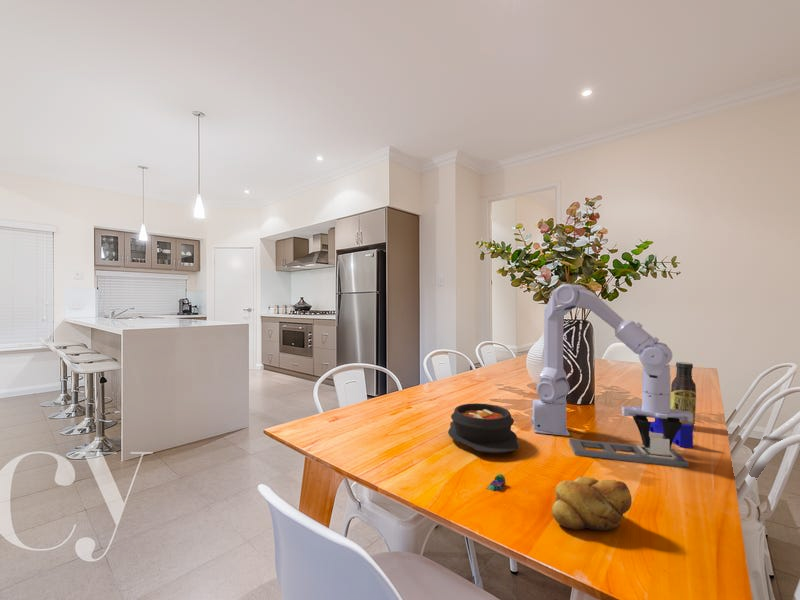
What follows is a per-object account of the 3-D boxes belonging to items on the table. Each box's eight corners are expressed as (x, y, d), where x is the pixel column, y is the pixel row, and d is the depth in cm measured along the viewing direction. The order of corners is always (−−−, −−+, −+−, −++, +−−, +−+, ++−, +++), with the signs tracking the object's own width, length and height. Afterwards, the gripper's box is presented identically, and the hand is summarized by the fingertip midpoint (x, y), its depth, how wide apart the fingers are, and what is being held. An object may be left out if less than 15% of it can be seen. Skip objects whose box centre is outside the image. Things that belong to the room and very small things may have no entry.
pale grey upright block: (650, 458, 86) (650, 437, 86) (644, 451, 90) (644, 431, 90) (669, 460, 85) (669, 439, 85) (662, 453, 89) (662, 433, 89)
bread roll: (566, 541, 57) (566, 491, 57) (535, 507, 67) (536, 464, 67) (639, 534, 59) (639, 486, 59) (598, 502, 68) (598, 460, 69)
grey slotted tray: (574, 455, 89) (574, 449, 89) (569, 443, 97) (569, 437, 97) (688, 467, 83) (688, 461, 83) (672, 453, 90) (672, 447, 90)
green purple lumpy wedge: (492, 482, 77) (492, 471, 77) (505, 486, 75) (505, 475, 75) (484, 490, 73) (484, 479, 73) (497, 495, 71) (497, 483, 71)
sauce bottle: (673, 428, 108) (673, 363, 109) (666, 422, 114) (666, 360, 114) (699, 431, 106) (699, 365, 106) (691, 425, 112) (691, 361, 112)
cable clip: (649, 431, 107) (649, 411, 107) (665, 432, 106) (665, 412, 106) (674, 447, 95) (674, 425, 95) (692, 448, 94) (692, 425, 94)
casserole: (537, 457, 88) (538, 423, 88) (466, 463, 85) (466, 428, 85) (493, 423, 113) (493, 397, 113) (436, 427, 109) (436, 399, 109)
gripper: (628, 394, 86) (628, 450, 86) (699, 398, 82) (699, 457, 82) (619, 387, 93) (619, 439, 93) (684, 391, 89) (684, 445, 89)
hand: (656, 447), depth 88 cm, fingers closed on pale grey upright block, 4 cm apart
